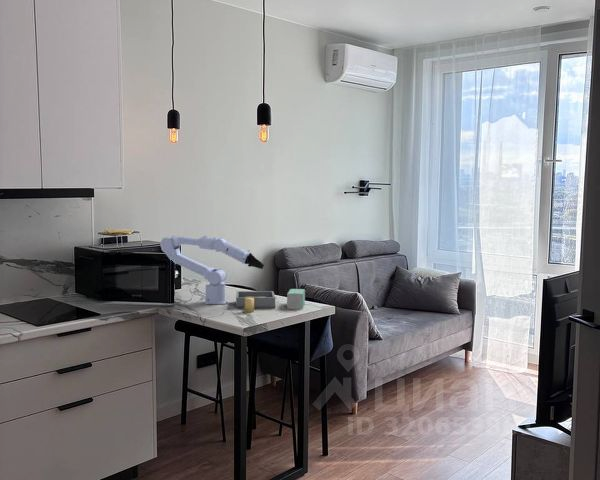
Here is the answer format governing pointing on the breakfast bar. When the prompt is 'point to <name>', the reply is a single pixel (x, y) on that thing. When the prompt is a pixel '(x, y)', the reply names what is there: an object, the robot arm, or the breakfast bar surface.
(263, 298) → the crate
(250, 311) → the peg
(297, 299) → the box
